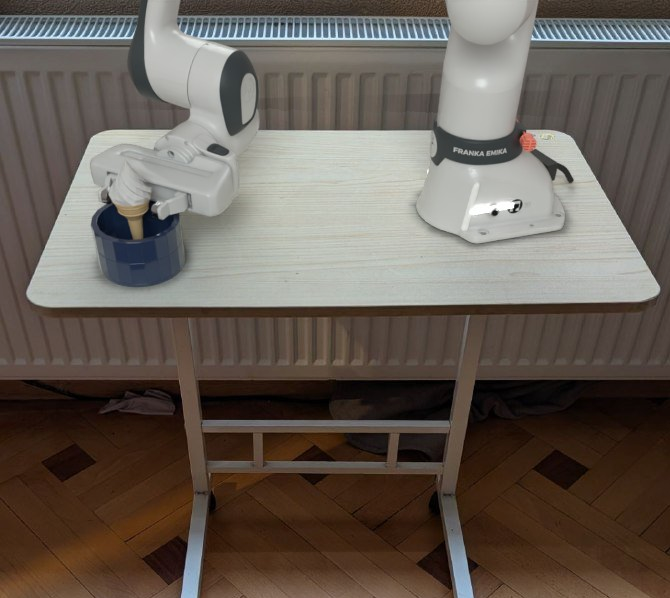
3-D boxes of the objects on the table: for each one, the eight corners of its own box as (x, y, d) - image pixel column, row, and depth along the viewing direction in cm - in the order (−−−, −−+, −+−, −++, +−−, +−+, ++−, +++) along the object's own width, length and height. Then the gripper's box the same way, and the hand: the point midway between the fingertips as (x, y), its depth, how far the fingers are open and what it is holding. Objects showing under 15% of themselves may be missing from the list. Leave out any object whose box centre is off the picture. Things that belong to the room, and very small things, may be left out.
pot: (185, 237, 120) (180, 194, 116) (184, 284, 112) (179, 240, 107) (103, 241, 119) (95, 198, 114) (96, 289, 111) (87, 244, 106)
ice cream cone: (158, 270, 113) (143, 169, 103) (117, 269, 113) (97, 168, 103) (164, 248, 117) (151, 149, 107) (125, 247, 117) (107, 147, 107)
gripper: (121, 124, 119) (59, 166, 109) (246, 155, 113) (193, 203, 104) (127, 164, 123) (68, 208, 114) (249, 197, 117) (197, 246, 108)
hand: (129, 206), depth 109 cm, fingers open, 7 cm apart
